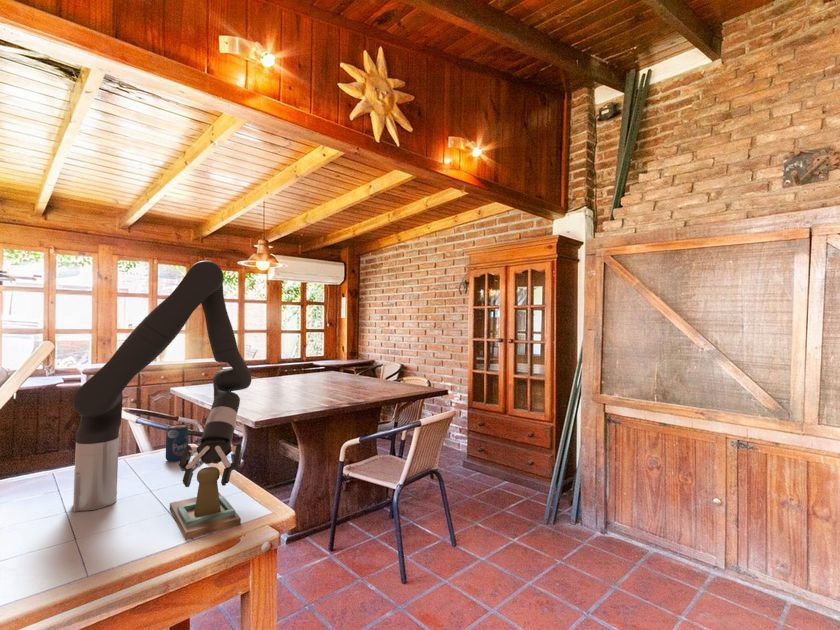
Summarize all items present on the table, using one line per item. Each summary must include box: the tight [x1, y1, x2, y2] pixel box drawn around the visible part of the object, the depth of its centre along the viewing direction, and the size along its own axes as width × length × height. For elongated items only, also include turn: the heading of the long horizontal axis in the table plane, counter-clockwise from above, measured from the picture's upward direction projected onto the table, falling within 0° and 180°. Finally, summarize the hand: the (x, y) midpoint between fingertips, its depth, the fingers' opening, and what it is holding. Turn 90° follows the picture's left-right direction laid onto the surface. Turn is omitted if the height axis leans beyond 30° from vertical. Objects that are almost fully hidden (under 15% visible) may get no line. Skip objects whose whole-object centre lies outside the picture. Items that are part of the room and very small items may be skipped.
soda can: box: [165, 423, 190, 463], centre depth 151 cm, size 7×7×12 cm
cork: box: [194, 466, 221, 517], centre depth 107 cm, size 6×6×11 cm
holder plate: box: [169, 492, 242, 540], centre depth 108 cm, size 12×20×3 cm, turn 39°
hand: (205, 485), depth 105 cm, fingers open, 8 cm apart
